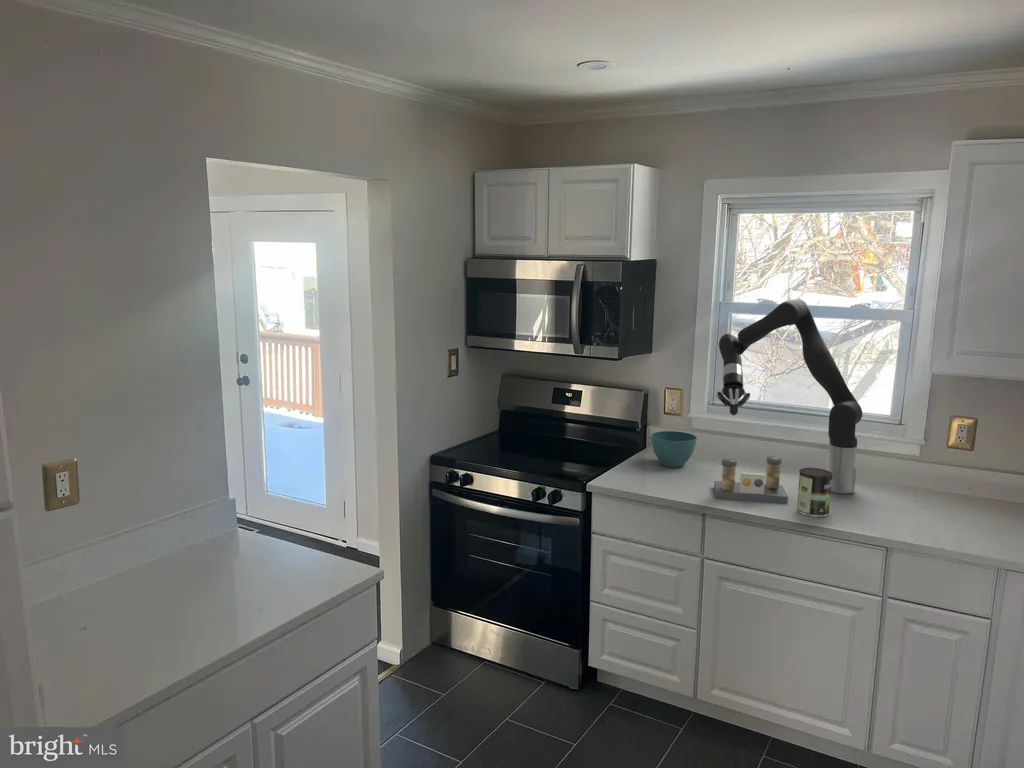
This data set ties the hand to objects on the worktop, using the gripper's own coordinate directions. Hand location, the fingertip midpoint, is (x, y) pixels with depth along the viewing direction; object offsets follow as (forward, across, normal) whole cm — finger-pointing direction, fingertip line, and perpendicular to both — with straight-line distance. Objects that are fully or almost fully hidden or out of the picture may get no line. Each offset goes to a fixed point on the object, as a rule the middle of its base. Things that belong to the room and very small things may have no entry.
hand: (733, 414), depth 282 cm
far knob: (+33, -3, -1) cm, 33 cm away
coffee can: (+42, +24, -6) cm, 49 cm away
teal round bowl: (+9, -22, +27) cm, 36 cm away
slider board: (+33, +5, +3) cm, 33 cm away
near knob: (+28, +13, +4) cm, 31 cm away
